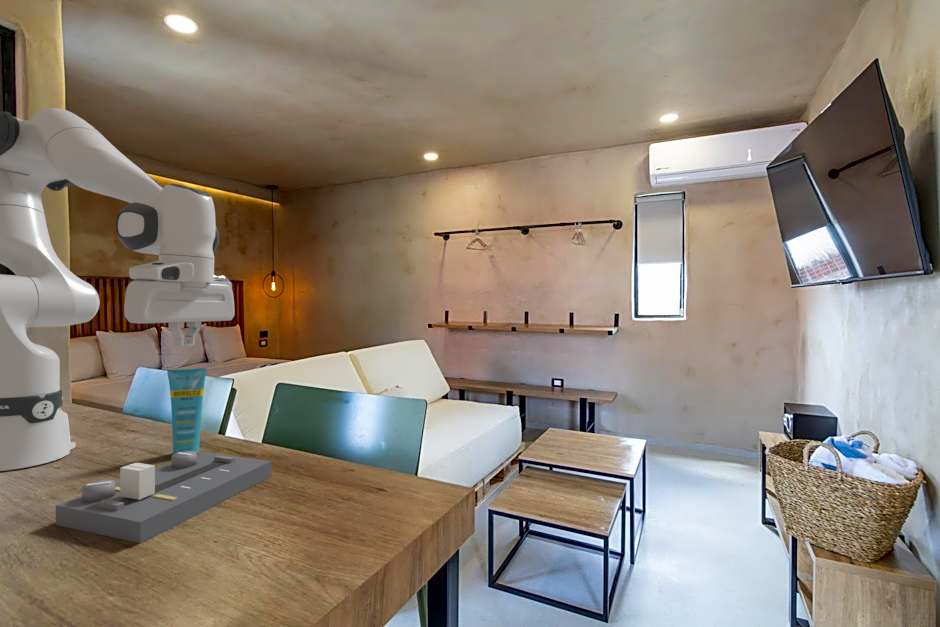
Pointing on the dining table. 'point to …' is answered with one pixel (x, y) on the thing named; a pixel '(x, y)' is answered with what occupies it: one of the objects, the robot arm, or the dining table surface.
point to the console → (162, 496)
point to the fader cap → (137, 480)
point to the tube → (186, 407)
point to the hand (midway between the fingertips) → (184, 345)
